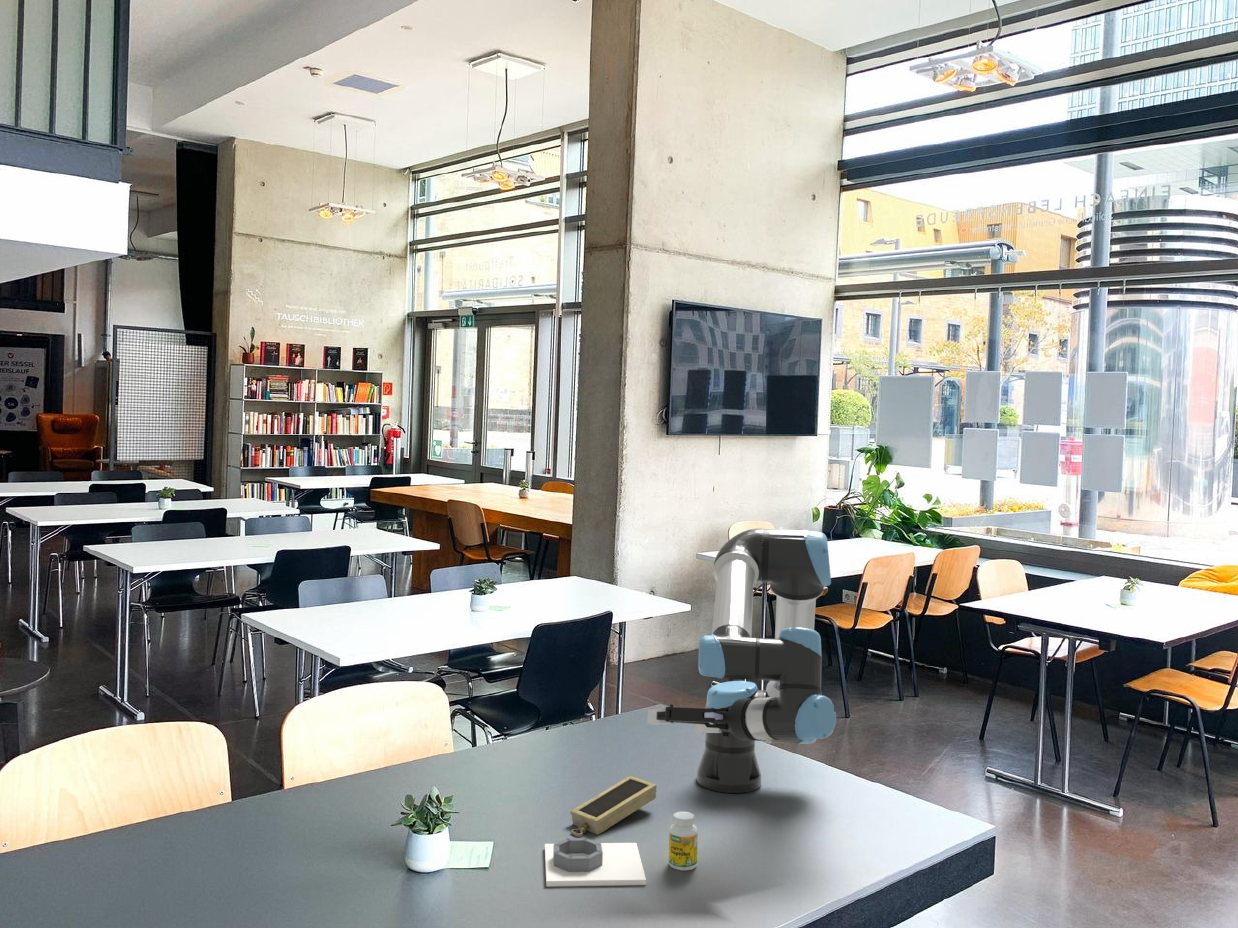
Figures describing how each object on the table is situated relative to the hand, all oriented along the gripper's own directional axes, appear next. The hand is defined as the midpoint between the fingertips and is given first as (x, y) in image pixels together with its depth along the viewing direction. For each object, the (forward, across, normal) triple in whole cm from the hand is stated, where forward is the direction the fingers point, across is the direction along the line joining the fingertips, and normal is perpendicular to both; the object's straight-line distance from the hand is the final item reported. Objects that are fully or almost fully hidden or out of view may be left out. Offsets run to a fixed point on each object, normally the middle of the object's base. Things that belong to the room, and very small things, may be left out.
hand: (672, 721), depth 196 cm
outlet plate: (+8, -10, -28) cm, 31 cm away
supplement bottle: (-2, +3, -26) cm, 27 cm away
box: (+22, +6, -19) cm, 30 cm away
